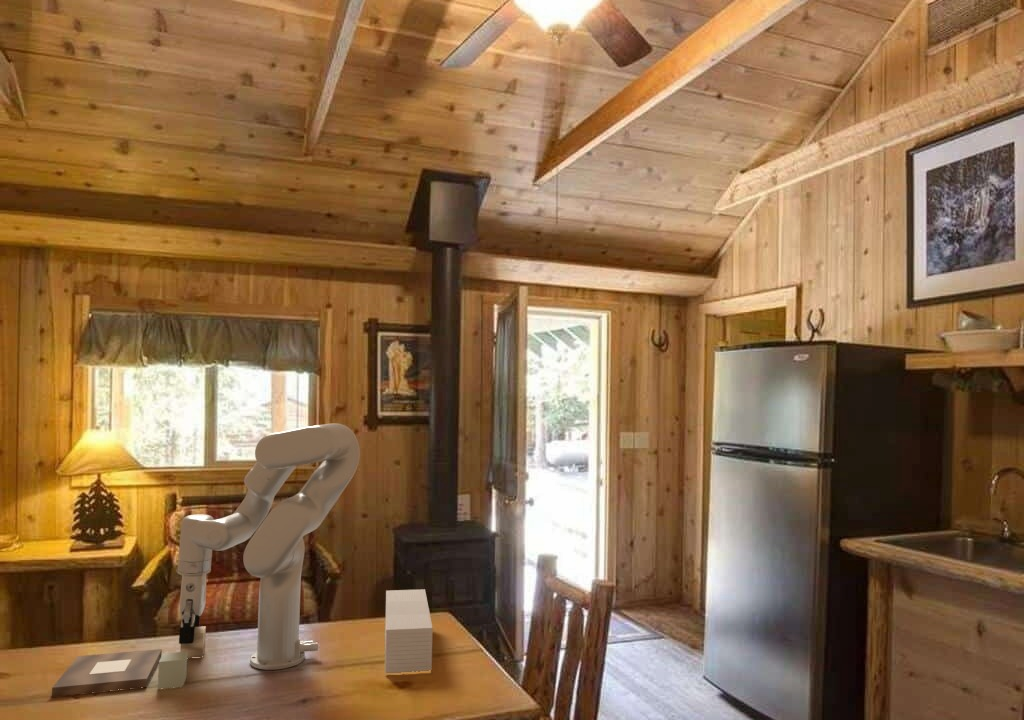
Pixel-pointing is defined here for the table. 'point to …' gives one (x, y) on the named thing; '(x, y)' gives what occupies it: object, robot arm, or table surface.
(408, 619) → the stack of papers
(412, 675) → the table surface
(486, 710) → the table surface
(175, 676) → the sage block
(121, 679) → the walnut board
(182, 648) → the maple block
